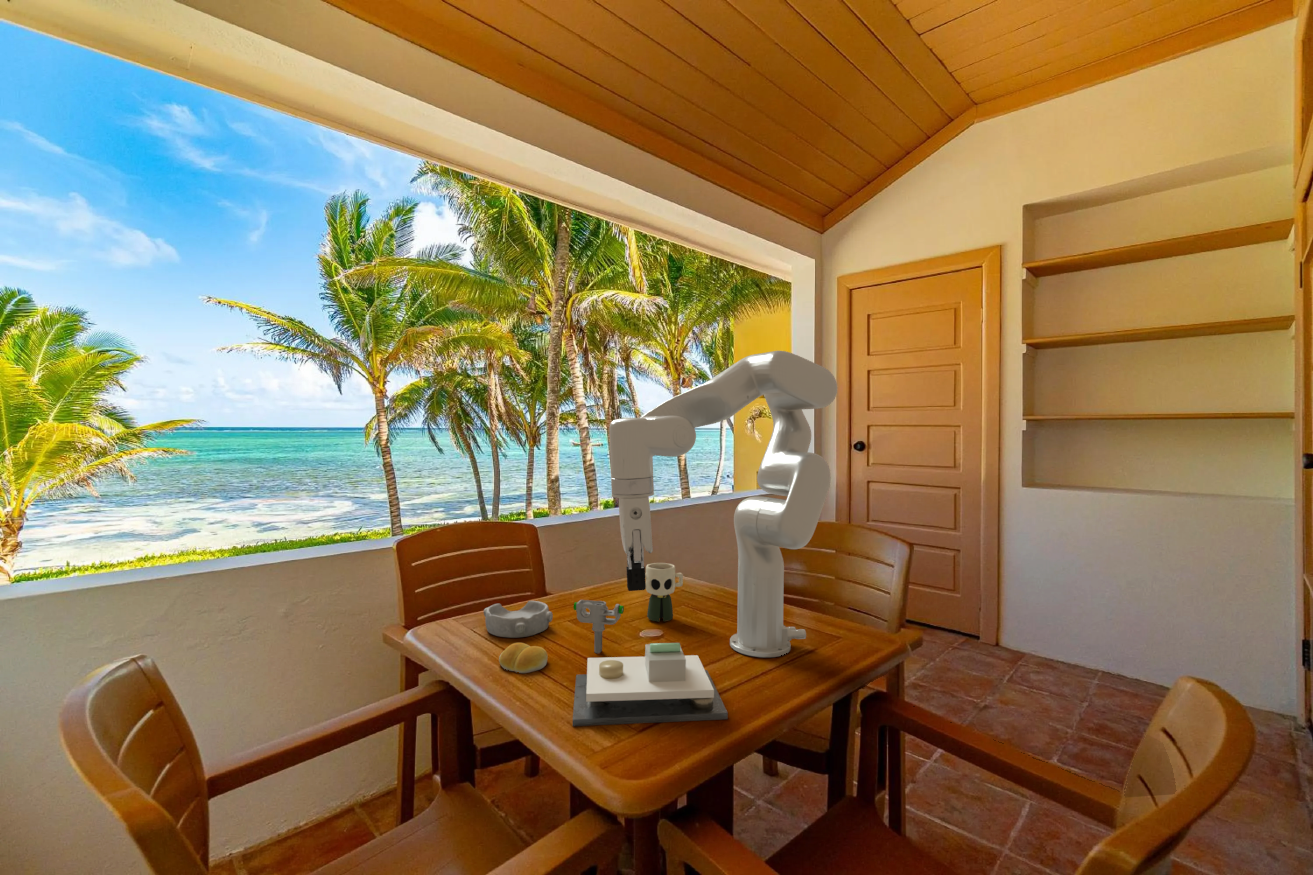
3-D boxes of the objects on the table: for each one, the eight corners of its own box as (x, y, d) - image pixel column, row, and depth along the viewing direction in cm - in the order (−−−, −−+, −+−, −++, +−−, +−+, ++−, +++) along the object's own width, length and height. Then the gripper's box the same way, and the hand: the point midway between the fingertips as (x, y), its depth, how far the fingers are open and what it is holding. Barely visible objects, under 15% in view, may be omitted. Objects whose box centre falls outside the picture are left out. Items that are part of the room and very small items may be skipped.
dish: (475, 627, 127) (476, 606, 127) (530, 615, 136) (530, 595, 136) (503, 646, 116) (503, 622, 116) (561, 631, 125) (561, 609, 125)
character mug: (638, 625, 130) (639, 569, 130) (636, 615, 137) (637, 562, 137) (684, 623, 131) (685, 569, 131) (680, 614, 138) (680, 562, 138)
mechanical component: (620, 656, 111) (620, 606, 111) (571, 652, 113) (572, 603, 113) (624, 651, 114) (624, 602, 114) (576, 646, 116) (577, 599, 116)
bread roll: (532, 677, 101) (533, 655, 101) (492, 669, 104) (492, 648, 104) (556, 660, 109) (556, 640, 109) (518, 653, 112) (518, 634, 112)
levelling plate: (697, 661, 101) (698, 628, 101) (713, 697, 87) (714, 658, 87) (587, 664, 99) (588, 630, 99) (586, 701, 85) (587, 661, 85)
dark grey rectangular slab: (707, 675, 102) (707, 660, 102) (727, 719, 87) (727, 701, 87) (576, 680, 100) (576, 664, 100) (572, 726, 84) (572, 707, 84)
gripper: (659, 491, 92) (662, 600, 92) (648, 481, 107) (652, 576, 107) (613, 493, 91) (617, 604, 91) (609, 483, 106) (613, 579, 106)
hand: (636, 588), depth 99 cm, fingers closed
